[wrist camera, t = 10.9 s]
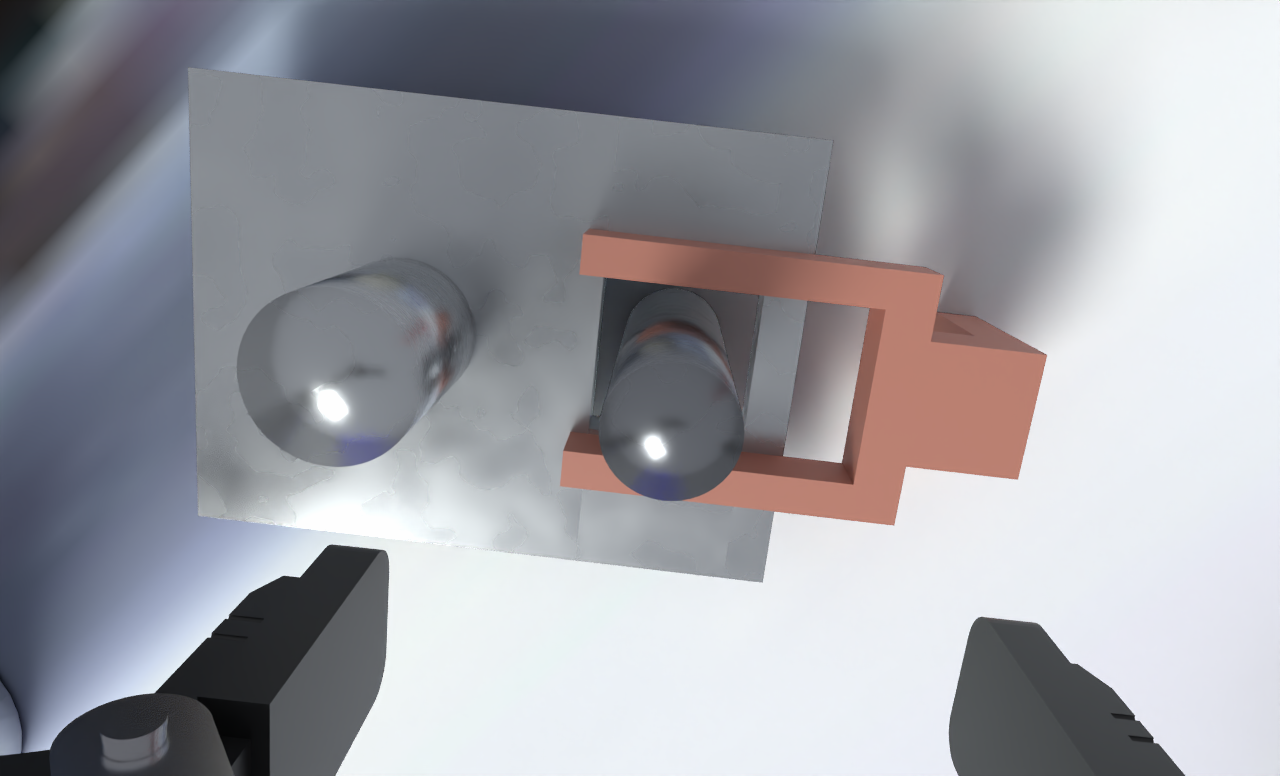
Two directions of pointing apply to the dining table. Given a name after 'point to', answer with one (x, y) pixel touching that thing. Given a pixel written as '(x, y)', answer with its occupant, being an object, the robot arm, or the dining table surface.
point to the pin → (671, 401)
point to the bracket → (885, 389)
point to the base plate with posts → (458, 311)
